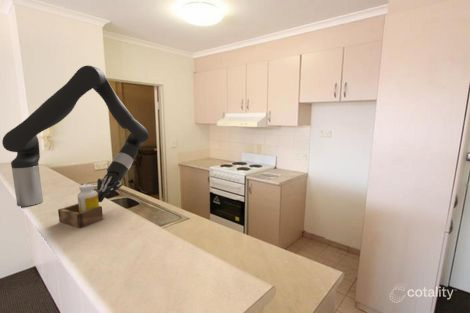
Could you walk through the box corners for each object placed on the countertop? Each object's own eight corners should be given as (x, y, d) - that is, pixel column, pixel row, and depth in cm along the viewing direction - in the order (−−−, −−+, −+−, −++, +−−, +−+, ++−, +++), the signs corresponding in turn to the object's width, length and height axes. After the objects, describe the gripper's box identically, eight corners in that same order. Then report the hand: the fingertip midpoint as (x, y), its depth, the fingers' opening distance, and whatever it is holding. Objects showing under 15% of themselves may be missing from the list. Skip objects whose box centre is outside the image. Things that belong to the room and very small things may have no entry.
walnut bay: (59, 222, 90) (57, 209, 89) (82, 214, 98) (81, 202, 97) (80, 228, 85) (78, 214, 84) (103, 219, 93) (101, 206, 92)
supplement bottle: (104, 214, 97) (100, 183, 95) (92, 221, 91) (88, 188, 89) (88, 213, 98) (84, 183, 96) (76, 220, 92) (71, 188, 89)
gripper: (104, 159, 106) (79, 195, 97) (126, 161, 101) (102, 198, 92) (115, 169, 112) (93, 203, 103) (137, 171, 106) (116, 207, 97)
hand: (98, 201), depth 97 cm, fingers closed
